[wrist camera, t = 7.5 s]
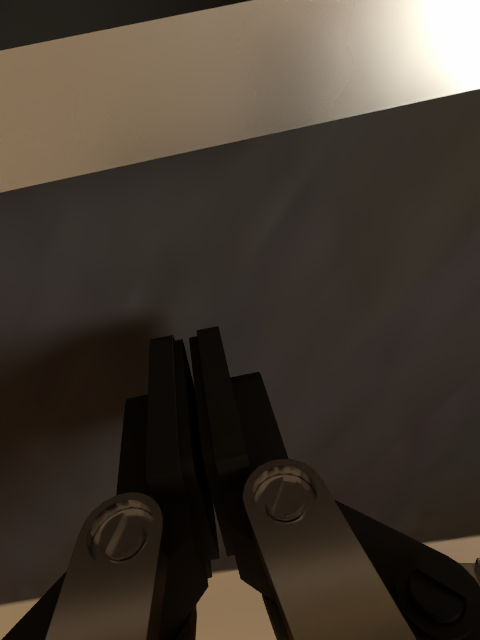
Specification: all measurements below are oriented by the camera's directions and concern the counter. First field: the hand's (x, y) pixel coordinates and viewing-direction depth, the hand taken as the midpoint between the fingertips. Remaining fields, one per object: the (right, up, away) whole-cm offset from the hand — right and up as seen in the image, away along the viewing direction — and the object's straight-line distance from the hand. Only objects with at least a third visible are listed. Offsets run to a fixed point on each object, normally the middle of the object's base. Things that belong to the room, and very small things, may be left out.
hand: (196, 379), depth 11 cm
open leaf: (-2, +6, -3) cm, 7 cm away
